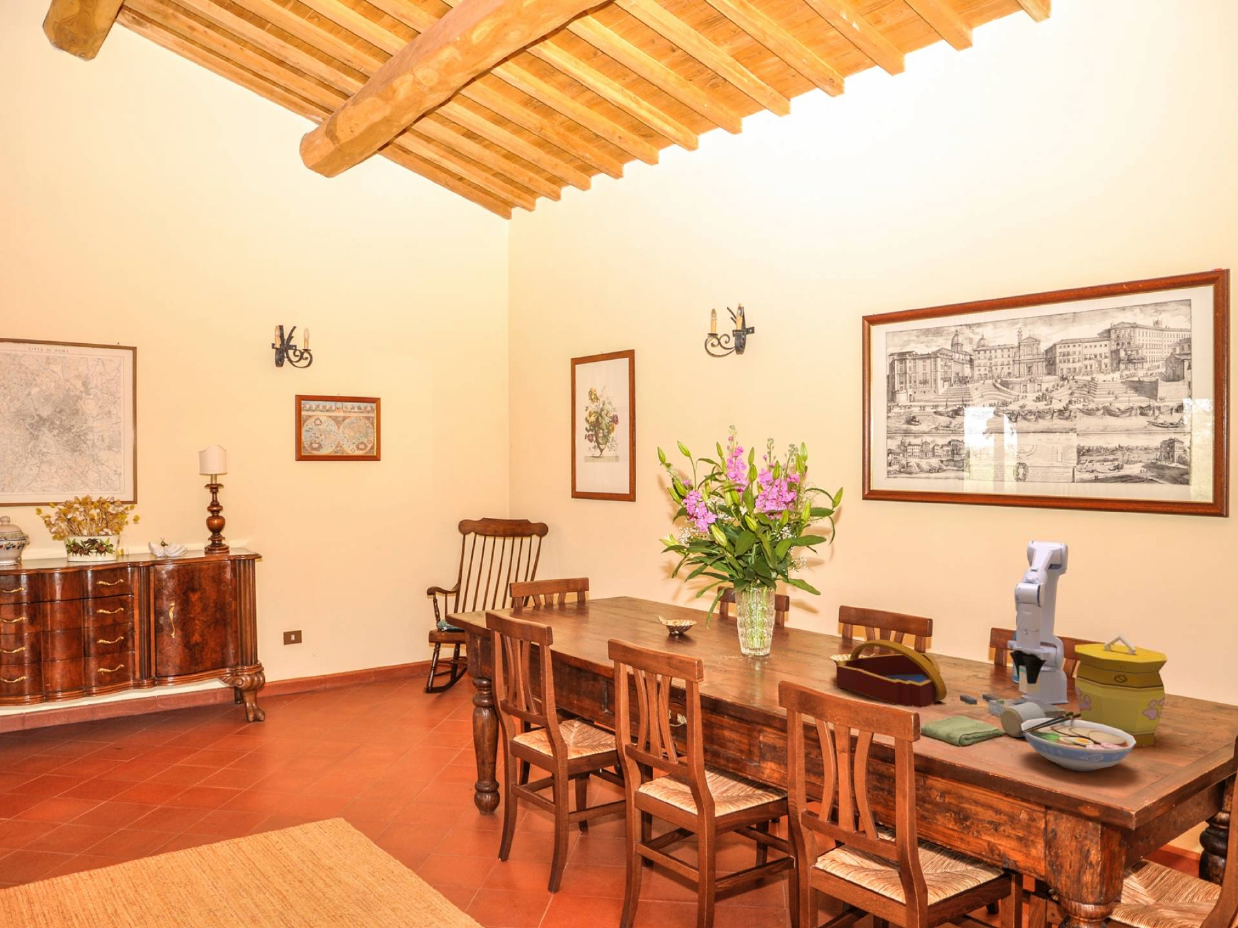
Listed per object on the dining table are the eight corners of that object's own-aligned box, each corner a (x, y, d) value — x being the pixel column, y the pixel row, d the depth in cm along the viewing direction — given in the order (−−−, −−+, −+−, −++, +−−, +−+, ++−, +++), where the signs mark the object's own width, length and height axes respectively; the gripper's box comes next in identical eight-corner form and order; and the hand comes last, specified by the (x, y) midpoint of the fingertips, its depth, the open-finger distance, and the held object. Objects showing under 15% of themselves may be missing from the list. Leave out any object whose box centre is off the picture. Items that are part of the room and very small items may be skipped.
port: (1035, 709, 248) (1035, 695, 248) (1065, 722, 236) (1066, 708, 236) (988, 712, 245) (988, 698, 245) (1017, 725, 233) (1017, 710, 233)
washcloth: (1006, 737, 225) (1006, 724, 225) (961, 749, 215) (961, 736, 215) (959, 723, 236) (960, 711, 236) (914, 734, 226) (914, 721, 226)
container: (1090, 718, 241) (1092, 622, 240) (1181, 738, 225) (1183, 635, 224) (1054, 734, 227) (1056, 632, 226) (1148, 756, 211) (1151, 647, 210)
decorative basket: (816, 689, 275) (812, 640, 274) (890, 666, 288) (886, 619, 287) (899, 722, 245) (894, 667, 244) (977, 694, 258) (973, 642, 256)
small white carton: (1032, 689, 243) (1033, 665, 243) (1040, 692, 240) (1040, 667, 240) (1018, 690, 242) (1019, 665, 242) (1026, 693, 239) (1026, 668, 239)
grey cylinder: (997, 732, 227) (998, 701, 227) (1021, 728, 231) (1022, 698, 230) (1033, 746, 218) (1034, 713, 217) (1057, 742, 221) (1058, 710, 221)
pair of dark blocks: (988, 698, 259) (989, 693, 259) (999, 703, 254) (999, 698, 254) (959, 699, 257) (960, 695, 257) (970, 704, 252) (970, 700, 252)
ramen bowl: (1099, 793, 187) (1100, 753, 187) (996, 761, 206) (996, 724, 206) (1157, 770, 202) (1158, 732, 202) (1056, 742, 220) (1056, 707, 220)
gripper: (997, 624, 247) (996, 675, 247) (1032, 635, 232) (1031, 689, 233) (1021, 623, 248) (1020, 674, 248) (1057, 634, 234) (1056, 688, 234)
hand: (1027, 681), depth 241 cm, fingers closed on small white carton, 3 cm apart
